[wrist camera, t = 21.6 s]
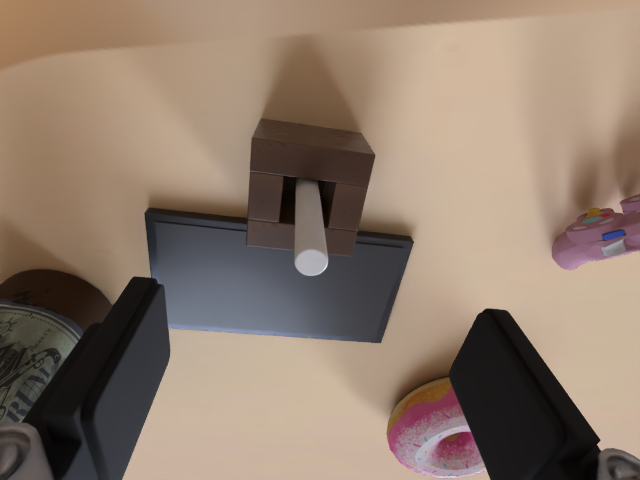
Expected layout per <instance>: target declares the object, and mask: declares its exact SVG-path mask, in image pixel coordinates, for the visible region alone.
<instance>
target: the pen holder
mask: <svg viewBox="0 0 640 480" xmlns="http://www.w3.org/2000/svg"><path fill="white" fill-rule="evenodd" d="M374 159H375V154H374V152H373V150H372V149H371V147H370V146H369V144H368V143H367V141H366V139H365V138H364V136H363V135H362V133H358V132H351V131H344V130H337V129H330V128H323V127H316V126H309V125H302V124H295V123H288V122H281V121H274V120H267V119H260V121H259V124H258V126H257V128H256V130H255V132H254V135H253V137H252V143H251V161H250V180H249V198H248V217H247V218H248V219H247V235H246V246H252V247H262V248H272V249H282V250H292V251H295V209H296V193H288V192H282V189H283V180H284V176H291V177H299V178H307V179H315V180H323V181H326V182H325V188H324V194H323V197H322V196H320V201H321V208H322V216H323V224H324V232H325V239H326V247H327V254H331V255H341V256H352V253H353V249H354V245H355V240H356V236H357V231H358V227H359V223H360V219H361V215H362V210H363V206H364V202H365V197H366V193H367V189H368V185H369V180H370V176H371V172H372V167H373V163H374Z"/></svg>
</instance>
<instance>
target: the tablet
mask: <svg viewBox="0 0 640 480" xmlns="http://www.w3.org/2000/svg"><path fill="white" fill-rule="evenodd" d="M145 222H146V232H147V242H148V251H149V261H150V271H151V278H155V279H157V281H158V284H163V285H164V289H165V299H166V310H167V321H168V328H175V329H189V330H203V331H217V332H231V333H245V334H259V335H273V336H287V337H301V338H315V339H329V340H343V341H357V342H371V343H381V341H382V338H383V335H384V332H385V329H386V326H387V323H388V320H389V317H390V314H391V311H392V307H393V304H394V301H395V298H396V295H397V292H398V289H399V286H400V283H401V280H402V277H403V274H404V271H405V268H406V264H407V261H408V258H409V255H410V252H411V249H412V246H413V243H414V241H413V240H412V238H411V237H410V236H402V235H393V234H383V233H374V232H365V231H357V236H356V240H355V245H354V249H353V253H352V256H341V255H331V254H327V255H328V265H327V267H326V269H325V270H324V271H323V272H322V273H320V274H318V275H314V276H308V275H304V274H302V273H301V272H299V271H298V270H297V268H296V266H295V262H294V260H295V251H292V250H282V249H272V248H262V247H252V246H246V235H247V218H238V217H229V216H219V215H210V214H201V213H192V212H183V211H174V210H165V209H156V208H148V209H147V211H146V212H145Z"/></svg>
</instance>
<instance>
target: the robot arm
mask: <svg viewBox="0 0 640 480" xmlns="http://www.w3.org/2000/svg"><path fill="white" fill-rule="evenodd" d="M169 358H170V342H169V331H168V321H167V310H166V299H165V289H164V285H163V284H158V281H157V279H155V278H146V277H133V278H132V279H131V280H130V282H129V283H128V285H127V286H126V288H125V289H124V291H123V292H122V294H121V295H120V297H119V298H118V300H117V301H116V303H115V304H114V305H113V307H112V308H111V310H110V311H109V313H108V314H107V316H106V317H105V319H104V320H103V322H102V323H93V324H91V325H90V326H89V327H88V328H87V330H86V331H85V332H84V334H83V335H82V337H81V338H80V339H79V341H78V342H77V344H76V345H75V347H74V348H73V349H72V351H71V352H70V354H69V355H68V356H67V358H66V359H65V361H64V362H63V364H62V365H61V366H60V368H59V369H58V371H57V372H56V373H55V375H54V376H53V378H52V379H51V381H50V382H49V383H48V385H47V386H46V388H45V389H44V390H43V392H42V393H41V395H40V396H39V397H38V399H37V400H36V402H35V403H34V405H33V406H32V407H31V409H30V410H29V412H28V413H27V414H26V416H25V417H24V419H23V420H22V422H11V423H4V424H0V480H122V478H123V476H124V473H125V471H126V468H127V466H128V463H129V461H130V458H131V456H132V453H133V450H134V448H135V445H136V443H137V440H138V438H139V435H140V433H141V430H142V428H143V425H144V423H145V420H146V418H147V415H148V413H149V410H150V408H151V405H152V402H153V400H154V397H155V395H156V392H157V390H158V387H159V385H160V382H161V380H162V377H163V375H164V372H165V370H166V367H167V365H168V362H169ZM449 379H450V383H451V385H452V387H453V390H454V392H455V395H456V397H457V399H458V402H459V404H460V407H461V409H462V412H463V414H464V416H465V419H466V421H467V424H468V426H469V429H470V431H471V433H472V436H473V438H474V441H475V443H476V445H477V448H478V450H479V453H480V455H481V458H482V460H483V462H484V465H485V467H486V470H487V472H488V474H489V477H490V479H491V480H640V460H639V459H638V458H636V457H635V456H633V455H631V454H629V453H627V452H625V451H622V450H618V449H614V448H609V449H605V450H603V451H602V452H601V450H600V449H599V447H598V446H597V444H598V443H599V442H600V439H599V437H598V436H597V435H596V433H595V432H594V430H593V429H592V428H591V426H590V425H589V423H588V422H587V421H586V419H585V418H584V416H583V415H582V414H581V412H580V411H579V409H578V408H577V407H576V405H575V404H574V403H573V401H572V400H571V398H570V397H569V396H568V394H567V393H566V391H565V390H564V389H563V387H562V386H561V384H560V383H559V382H558V380H557V379H556V377H555V376H554V375H553V373H552V372H551V370H550V369H549V368H548V366H547V365H546V363H545V362H544V361H543V359H542V358H541V356H540V355H539V354H538V352H537V351H536V349H535V348H534V347H533V345H532V344H531V343H530V341H529V340H528V338H527V337H526V336H525V334H524V333H523V331H522V330H521V329H520V327H519V326H518V324H517V323H516V322H515V320H514V319H513V317H512V316H511V315H510V313H509V312H508V311H506V310H499V309H485V310H484V311H483V312H482V313H479V314H478V315H477V317H476V319H475V321H474V323H473V325H472V327H471V329H470V331H469V333H468V335H467V337H466V339H465V341H464V343H463V345H462V347H461V349H460V351H459V353H458V355H457V356H456V358H455V360H454V362H453V364H452V366H451V368H450V371H449Z"/></svg>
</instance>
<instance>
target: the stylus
mask: <svg viewBox="0 0 640 480" xmlns="http://www.w3.org/2000/svg"><path fill="white" fill-rule="evenodd" d="M294 262H295V266H296V268H297V270H298V271H299V272H301V273H302V274H304V275H308V276H314V275H318V274H320V273H322V272H323V271H324V270H325V269H326V267H327V265H328V255H327V247H326V239H325V232H324V224H323V216H322V208H321V201H320V193H319V185H318V180H315V179H307V178H299V177H296V209H295V260H294Z"/></svg>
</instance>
